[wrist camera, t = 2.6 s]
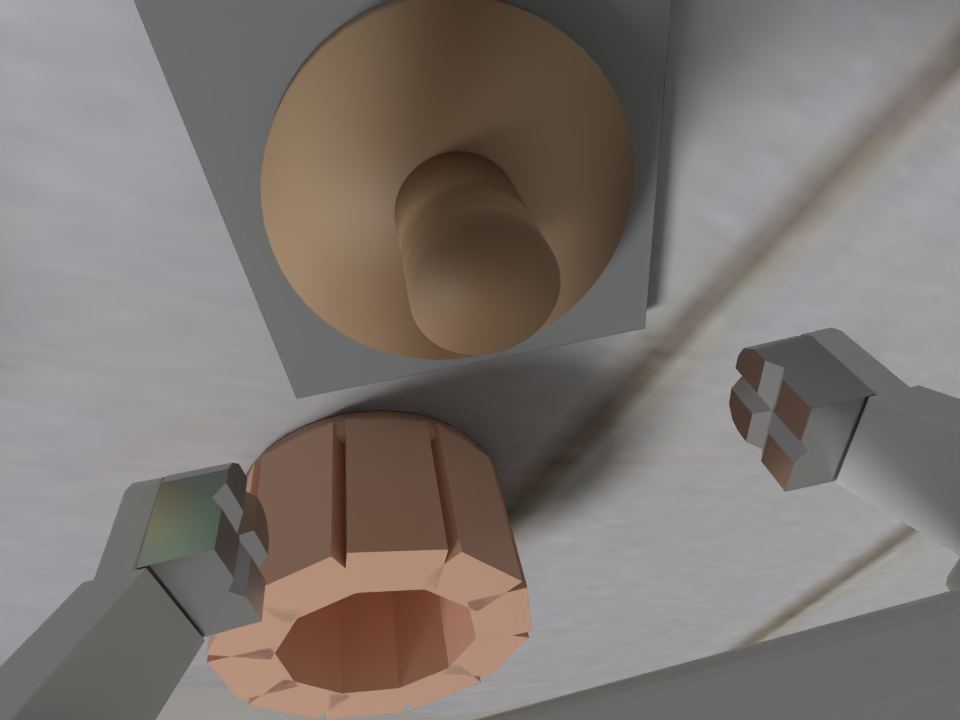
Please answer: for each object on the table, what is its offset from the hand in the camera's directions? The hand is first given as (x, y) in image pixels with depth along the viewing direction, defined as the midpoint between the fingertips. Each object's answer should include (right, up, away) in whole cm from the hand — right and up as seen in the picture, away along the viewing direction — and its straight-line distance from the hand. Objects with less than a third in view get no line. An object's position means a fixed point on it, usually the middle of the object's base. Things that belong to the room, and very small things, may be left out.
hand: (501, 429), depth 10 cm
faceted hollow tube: (-5, -5, +15) cm, 17 cm away
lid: (-1, +6, +7) cm, 9 cm away
